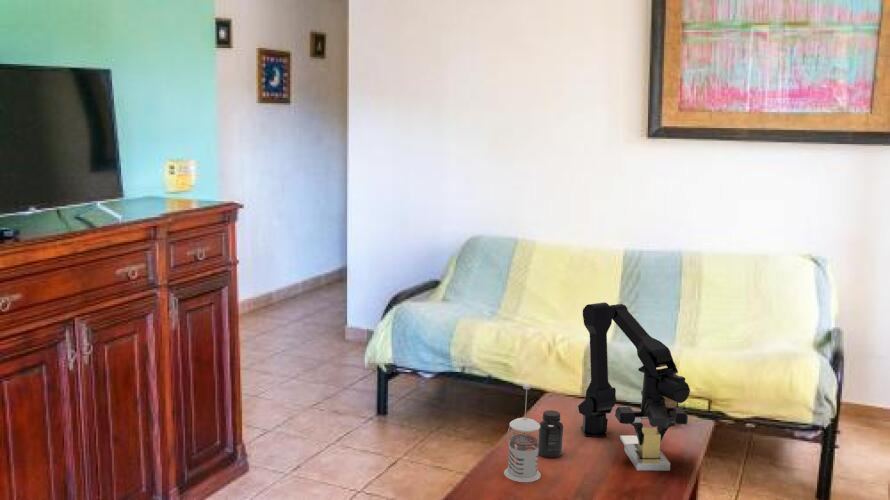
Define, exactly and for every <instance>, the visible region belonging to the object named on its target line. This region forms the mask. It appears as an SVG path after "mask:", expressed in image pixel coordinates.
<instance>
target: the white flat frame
mask: <svg viewBox="0 0 890 500" xmlns="http://www.w3.org/2000/svg"><path fill="white" fill-rule="evenodd" d="M623 449H624V452H625V454H626V456H628V457H627V458H629V460H630V461H631V463H632V464H633V466H634V468H635V470H636V471H662V472H663V471H665V472H667V471H669V472H670V471H671V462H670V461H669V460H668V458H667V457H666V456H665V454H664V453H663V452H662V450H661V449H660V451H659V459H641V458H642V457H641V456H640V454H639V453H638V444H625V445H624V448H623Z"/></svg>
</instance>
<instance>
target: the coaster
mask: <svg viewBox="0 0 890 500" xmlns="http://www.w3.org/2000/svg"><path fill="white" fill-rule="evenodd" d="M619 439H620V440H621V442H622V444H623V445H624V446H625V444H638V439H637V435H619Z"/></svg>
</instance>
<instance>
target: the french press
mask: <svg viewBox="0 0 890 500" xmlns="http://www.w3.org/2000/svg"><path fill="white" fill-rule="evenodd" d="M522 388H523V390H525V405H524V406H525V407H524V417H517V418H515V419H513V420H511V421H510V422H509V427H508V430H507V443H508V461H507V462H508V465H507V468H505V470H504V472H503V475H504V476H505V477H506V478H507V479H510V480H511V481H514V482H519V483H532V482H534V481H538V480H539V479H540V478H541V472H540V471H539V470H538V464H539V463H538V460H539V453H538V439H537V437H536V436H534V435H530V434H526V433H535V432H537V431H539V429H540V424H539V423H540V422H538V421H536V420H534V419H532V418H527V416H526V414H527V401H528V400H527V399H528V398H527V397H528V390H531V385H530V384H529V383H525V384H523V386H522ZM510 429H512V435H511V437H510V436H509V435H510V434H509V432H510ZM515 431H516V432H521V433H520V434H515ZM534 446H535V447H534Z"/></svg>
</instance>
